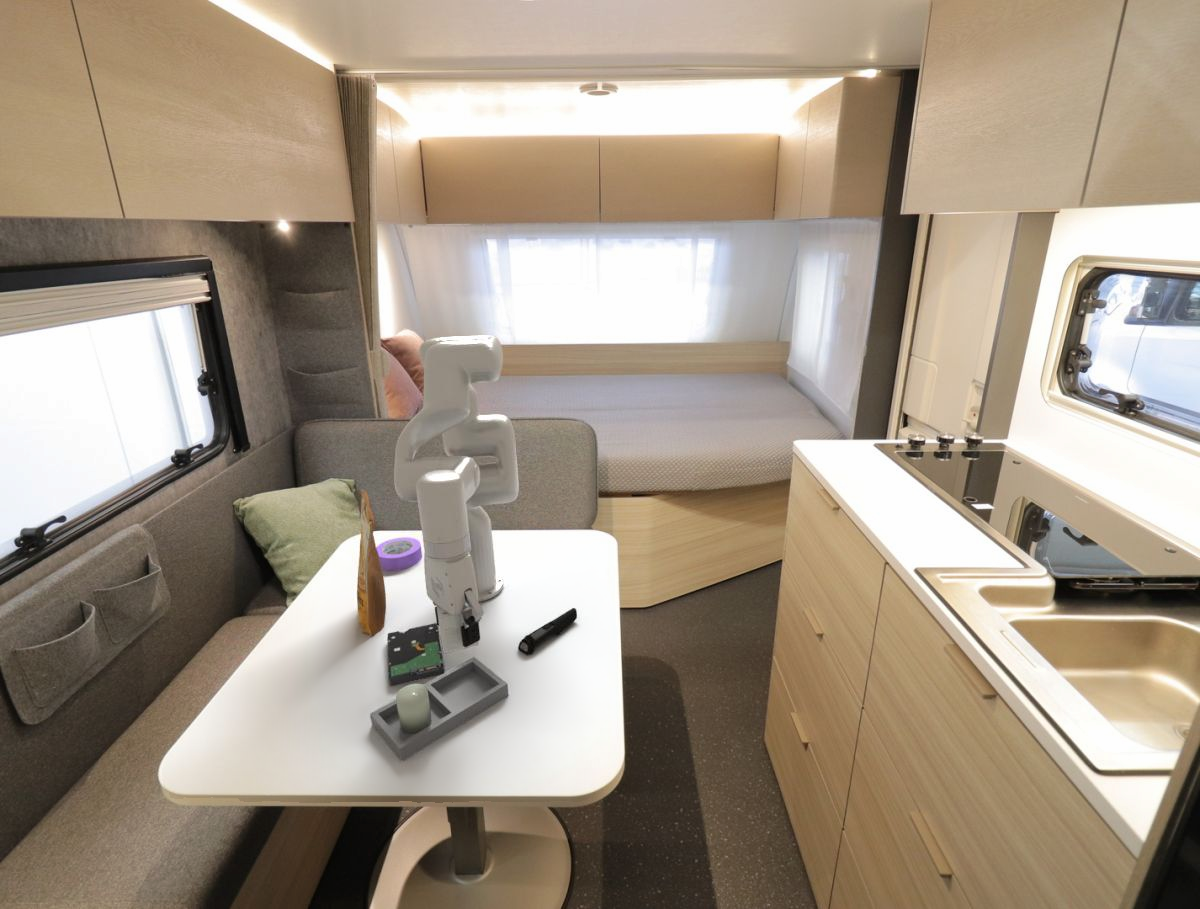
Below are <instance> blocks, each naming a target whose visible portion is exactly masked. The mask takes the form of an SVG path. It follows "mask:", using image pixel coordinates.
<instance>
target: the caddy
mask: <svg viewBox="0 0 1200 909" xmlns="http://www.w3.org/2000/svg"><path fill="white" fill-rule="evenodd" d="M422 685H424V686H426V688H427V690H428V697H429V704H430V710H431V717H432V721H431V724H430V725H429V727H427V728H425V729H424V730H422V731H420V732H419V733H416V734H407V733H405V732H403V731H402V730H401V726H400V721H399V715H398V709H397V703H396V699H394V700H392V701H391V702H389V703H387V704H385V705H383V706H381V707H380V708H378V709H376V710H374V711H372V712H371V713H370V714H369V716H370V720H371V721H370V722H371V726H372V727H373V729H374V730H375V731H376V732H377V733H378V734H379V736H380V737H381V738H382V740H383V741H384V742H385V743H386V744H387V745H388V746H389V748H390V749H391V750H392V751H393V752H394V754H395V755H396V756H397V757H398V758H399V760H400V762H404V761H406V759H409V758H410V757H412V756H413V755H415V754H417V753H418V752H420V751H422V750H423V749H425V748H426V747H428V746H429V745H431V744H432V743H434V742H435V741H438V740H439V739H441V738H442V737H444V736H446V735H448V734H449V733H450V732H453V730H455V729H457V728H458V727H460V726H461V725H463V724H465V723H466V722H468V721H469V720H471V719H473V718H475V717H476V716H478V715H480V714H481V713H482V712H484V711H486V710H488V709H490V708H491V707H492V706H494V705H496V704H497V703H499V702H500V701H502V700H503V699H505V698H507V697H508V696H509V686H508V685H509V684H508V683H507V682H506V681H505V680H503V679H502V678H501V677H500V676H499V675H497V673H495V672H494V671H492V670H491V669H490V668H489V667H487V666H486V665H485V664H484V663H483V662H482V661H480V660H478V659H477V658H476V657H475V656H472V657H471V658H469V659H468V660H466V661H464V662H462V663H460V664H458V665H456V666H454V667H452V668H451V669H449V670H447V671H446V672H445V671H444V674H441V675H437V676H435V677H434V678H432V679H430V680H429V681H427V682H425V683H423V684H422Z"/></svg>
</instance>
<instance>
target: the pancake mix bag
mask: <svg viewBox="0 0 1200 909" xmlns="http://www.w3.org/2000/svg"><path fill="white" fill-rule="evenodd" d="M359 490H360V493H361V500H360V501H361V502H360V542H359V557H358V558H359V559H358V568H357V584H356V601H357V602H356V603H357V613H358V620H359V625H360V629H361V632H362V634H368V635H369V636H370V637H371V638H372V637H374V636H375V635H377V634H378V633H380V632H381V631H382V629H383V628H384V627H385V622H386V615H387V614H386V611H387V593H386V586H385V579H384V573H383V572H384V571H383V569H382V567H381V562H380V558H379V555H378V551H377V549H376V547H377V546H376V541H375V537H374V530H375V517H374V516H375V515H374V512H373V511H372V508H371V506H370V500H369V493H367V491H366V490H364V489H363V488H360V489H359Z"/></svg>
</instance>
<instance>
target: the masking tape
mask: <svg viewBox="0 0 1200 909" xmlns="http://www.w3.org/2000/svg"><path fill="white" fill-rule="evenodd" d="M376 549H377V551H378V555H379V558H380V562H381V567H382V570H385V571H400V570H404V569H407V568H410V567H412V566H415V565H417V564H418V563H419V562H420V561H421V560H422V558H423V552H422V546H421V541H420V540H418V539H416V538H415V537H405V536H404V537H394V538H392V539H387V540H385V541H384V542H381V543H380V544H379V545H377V546H376Z"/></svg>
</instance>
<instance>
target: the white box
mask: <svg viewBox="0 0 1200 909" xmlns="http://www.w3.org/2000/svg"><path fill="white" fill-rule="evenodd" d="M436 606H437V613H438V621H439V626H438V629H439V637H440V643H441V646H442V650H443V653H444V654H448V653H452V652H455V651H456V652H457V651H461V650H464V649H469V648H473V647H476V646H478V645H479V641H477V642H475V643H474V644H472V645H470V646H468V647H464V646H463V643H462V635H461V626H463V625H462V622H461V620H460V617H459V615H457V616H453V615H451V614H449V613H448V612H446V611H445V610H444V609H442V608H441V607H440V606H438V605H437V604H436ZM436 606H435V607H436ZM467 606H469V605H468V604H467V603H465V604H464V608H465V607H467ZM464 614H465V617H466V619H468V618H469V617H470V616H471V615H472V614H471V611H470V610H468V611H466V612H464Z"/></svg>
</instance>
